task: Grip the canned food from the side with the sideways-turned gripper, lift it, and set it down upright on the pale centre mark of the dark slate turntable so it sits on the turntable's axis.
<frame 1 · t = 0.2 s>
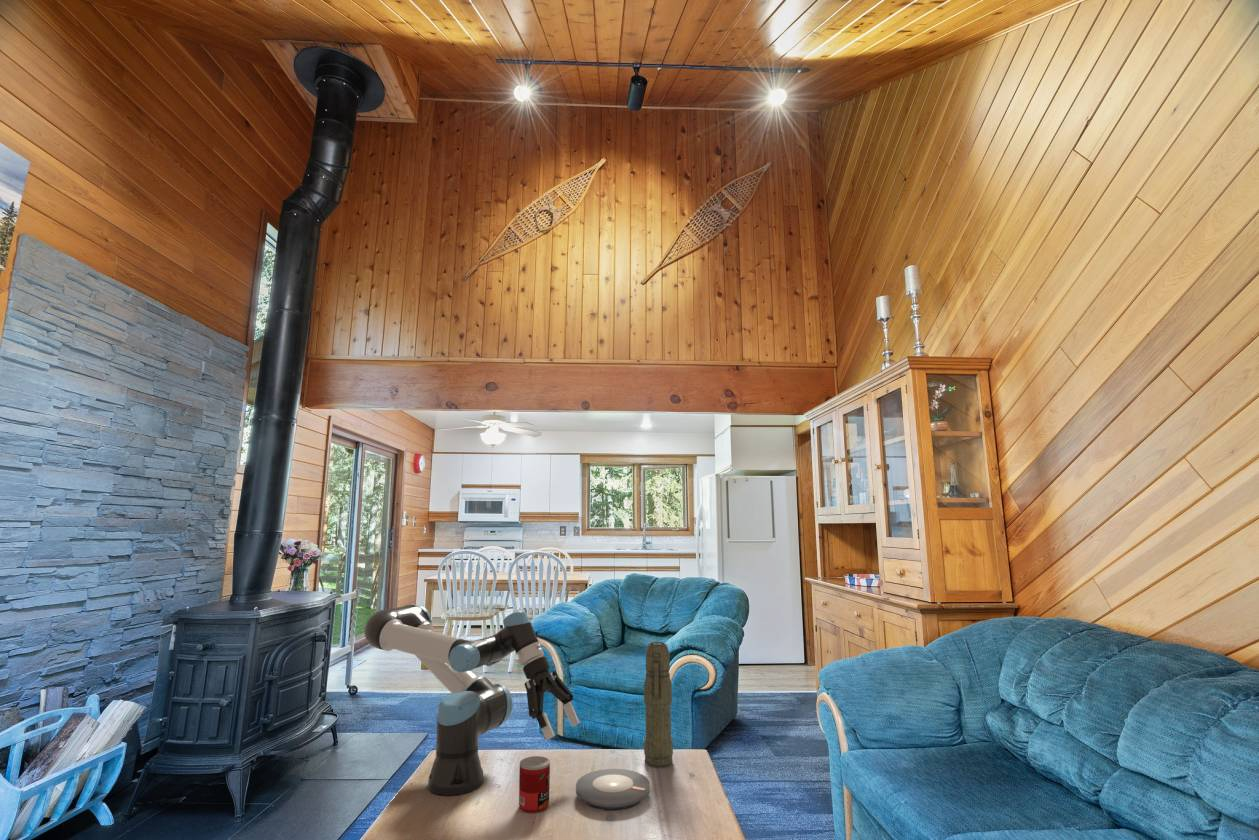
hand: (563, 731, 173), 14 cm above the table, tool tilted 30°, fingers open, 13 cm apart
turntable base: (612, 796, 163), on the table
turntable: (612, 786, 164), point 3 cm above the table, hinge at 0.0°
canned food: (533, 807, 158), on the table
olive brown statue: (658, 762, 186), on the table
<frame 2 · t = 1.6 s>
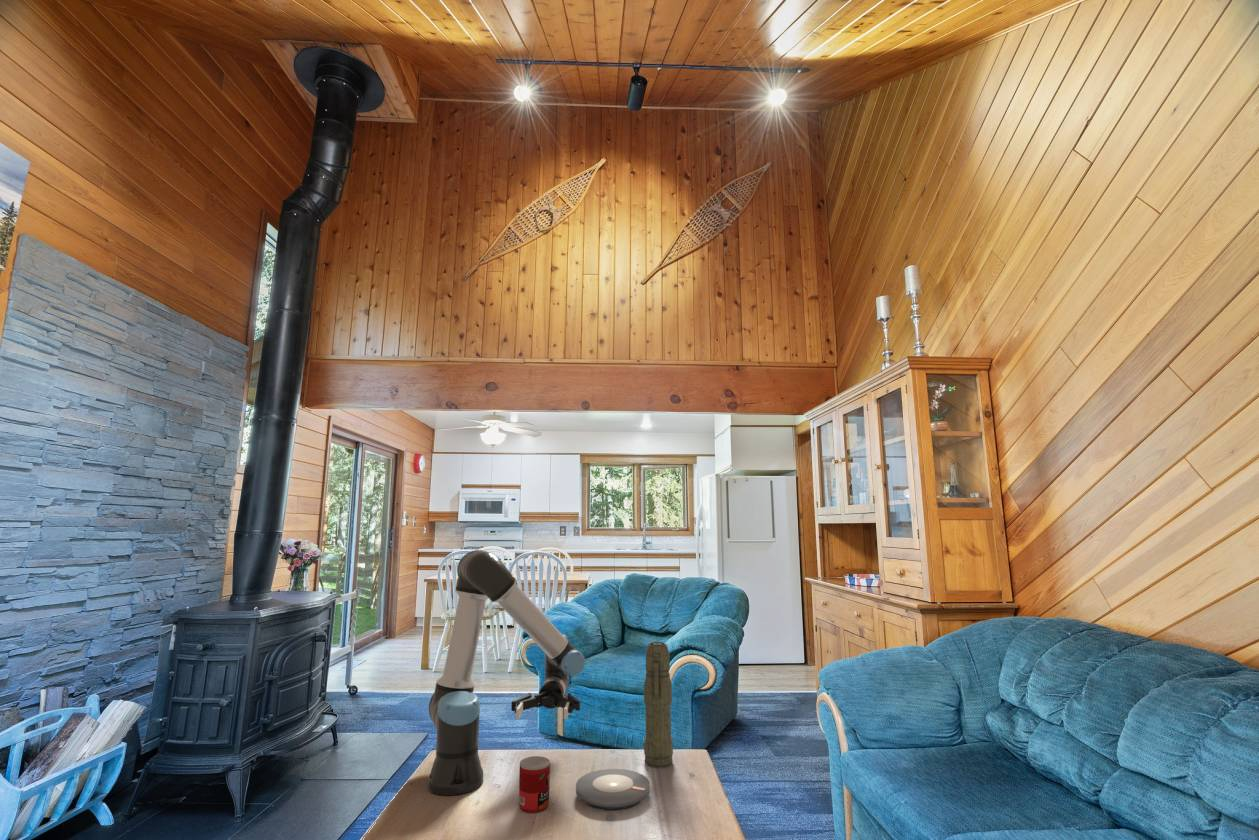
hand: (541, 714, 170), 20 cm above the table, tool horizontal, fingers open, 13 cm apart
nothing on the table moved.
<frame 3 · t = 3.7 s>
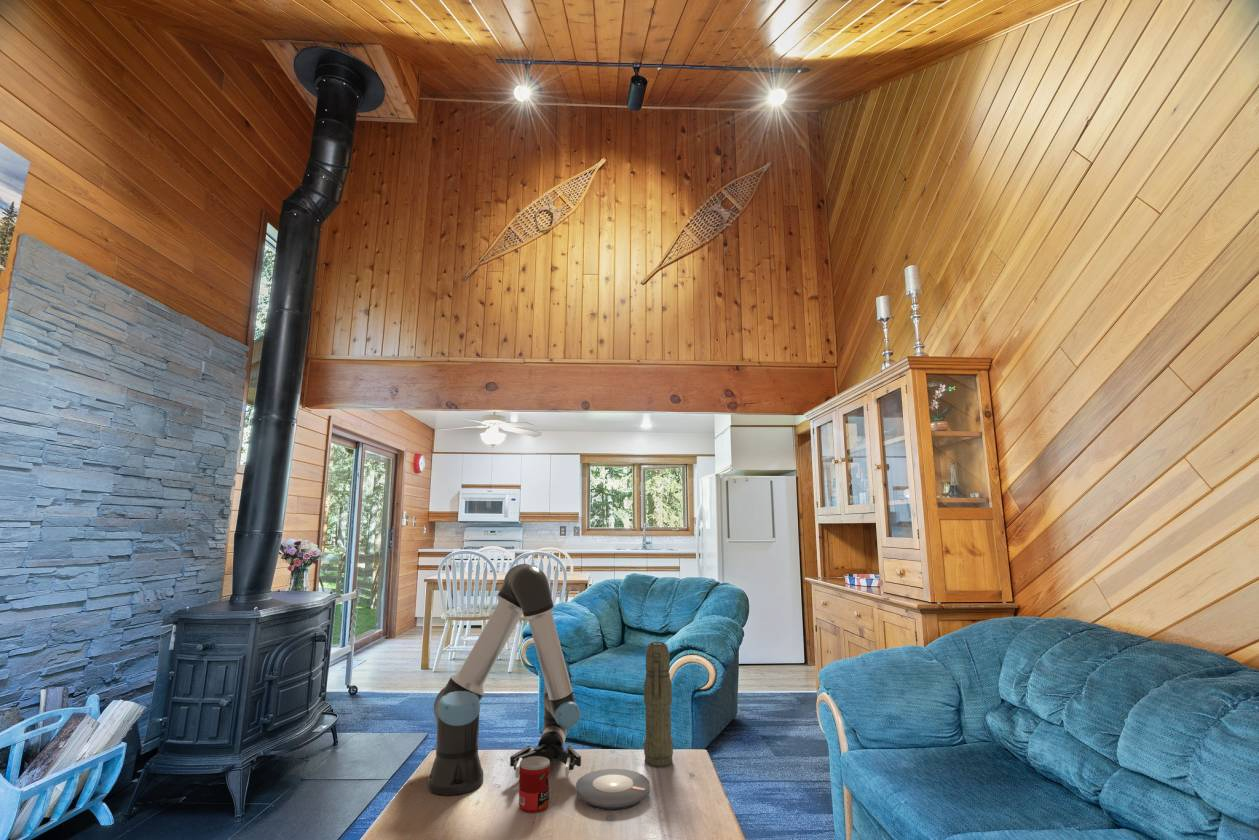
hand: (541, 772, 165), 6 cm above the table, tool horizontal, fingers open, 13 cm apart
nothing on the table moved.
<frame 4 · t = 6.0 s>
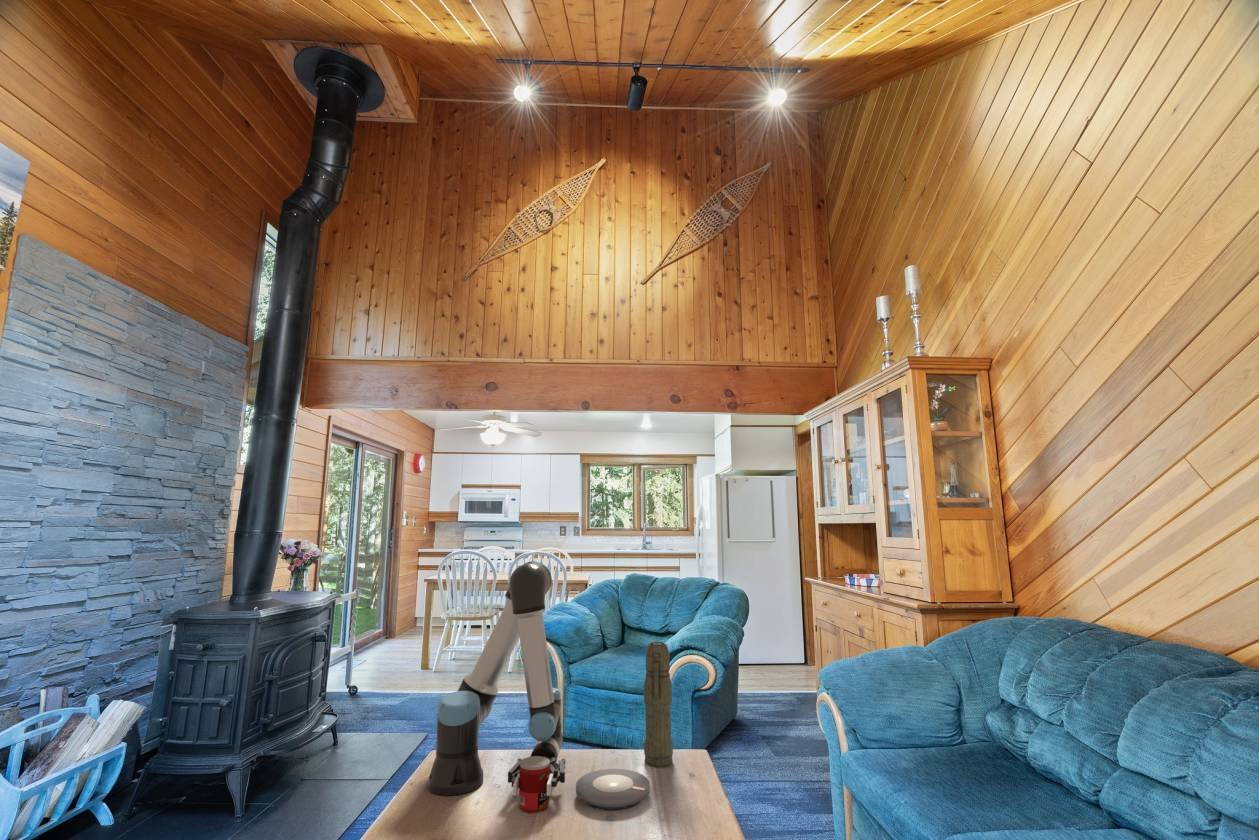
hand: (531, 789, 154), 6 cm above the table, tool horizontal, fingers closed on canned food, 8 cm apart
canned food: (533, 807, 158), on the table, touching gripper
everything else where it was.
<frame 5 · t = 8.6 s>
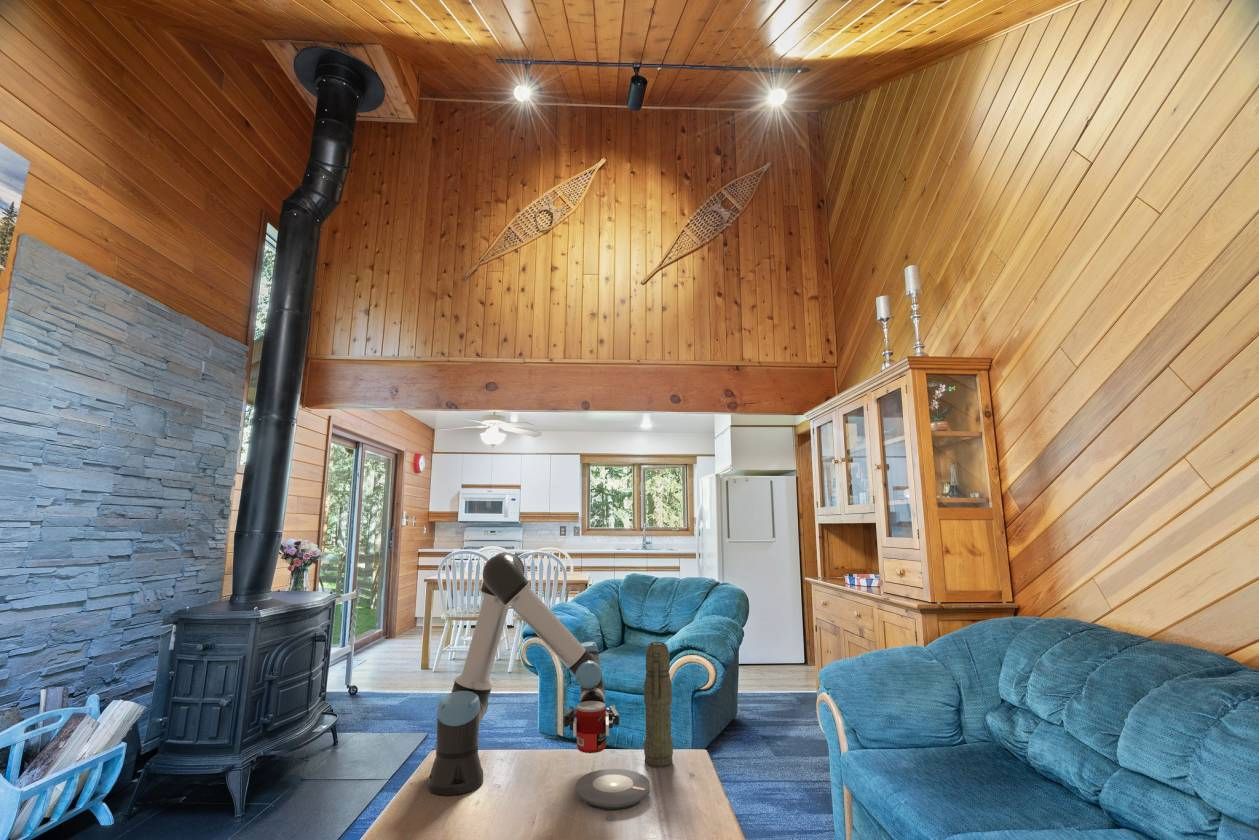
hand: (591, 730, 159), 19 cm above the table, tool horizontal, fingers closed on canned food, 8 cm apart
canned food: (591, 749, 163), point 13 cm above the table, touching gripper
everything else where it was.
when the fingers open (11 cm above the table, at t = 11.1 s): canned food drops 2 cm, resting on turntable.
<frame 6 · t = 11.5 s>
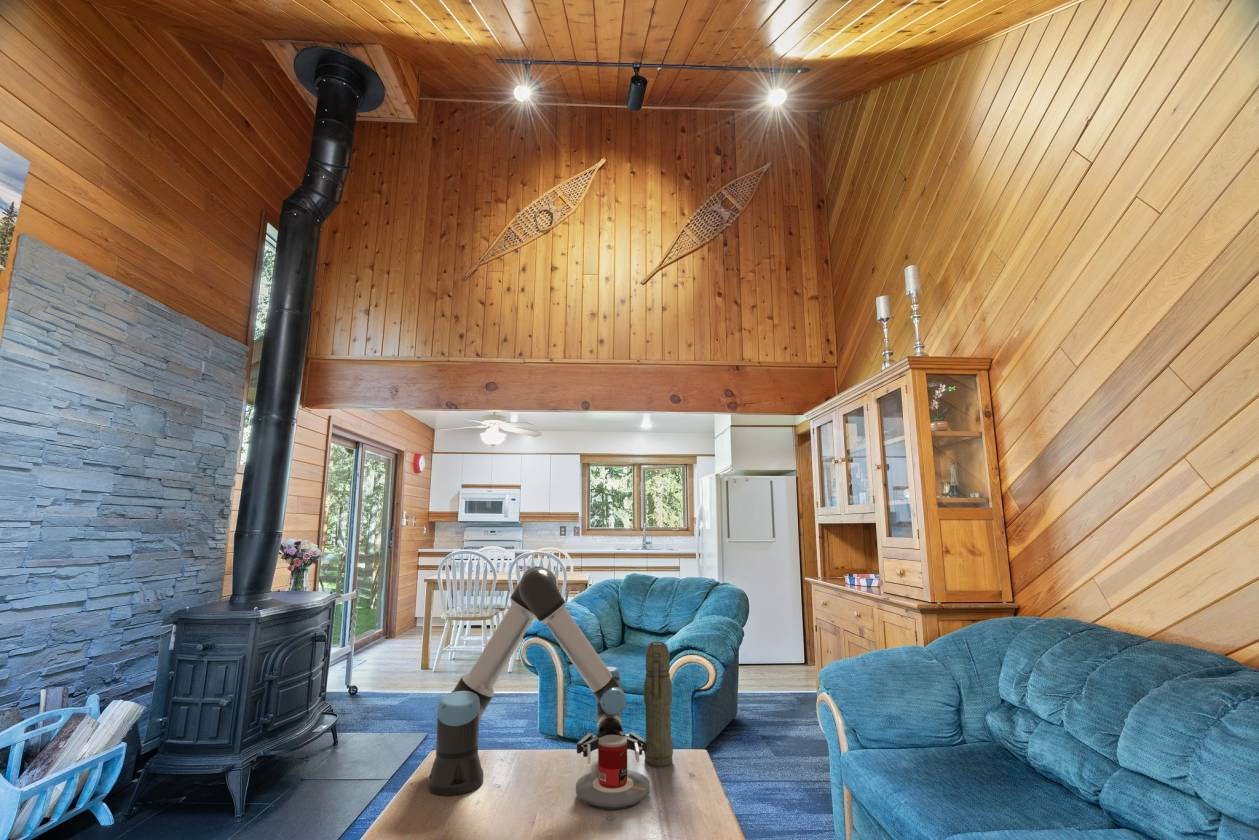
hand: (613, 757, 162), 11 cm above the table, tool horizontal, fingers open, 12 cm apart
turntable: (612, 786, 164), point 3 cm above the table, hinge at 0.0°, touching canned food
canned food: (612, 783, 164), point 3 cm above the table, touching turntable
everything else where it was.
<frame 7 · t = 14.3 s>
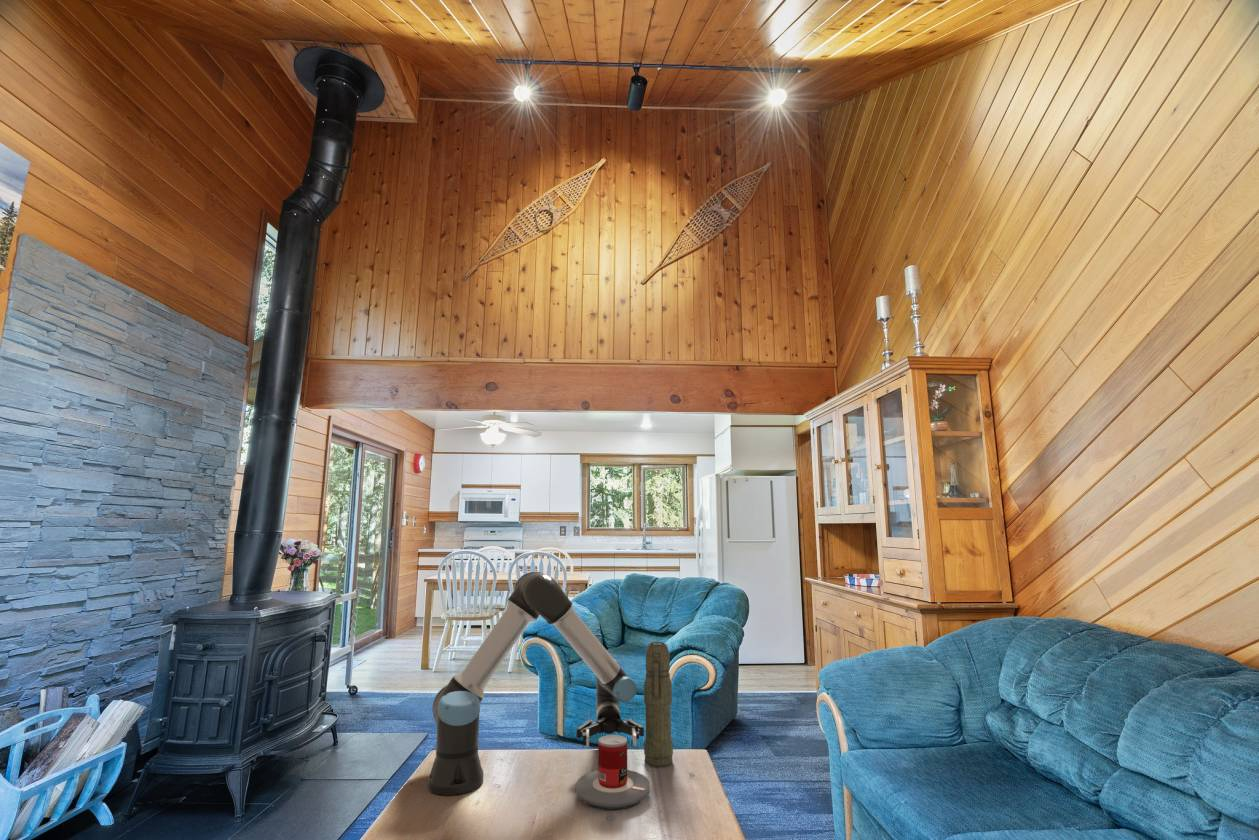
hand: (611, 741, 173), 11 cm above the table, tool horizontal, fingers open, 13 cm apart
nothing on the table moved.
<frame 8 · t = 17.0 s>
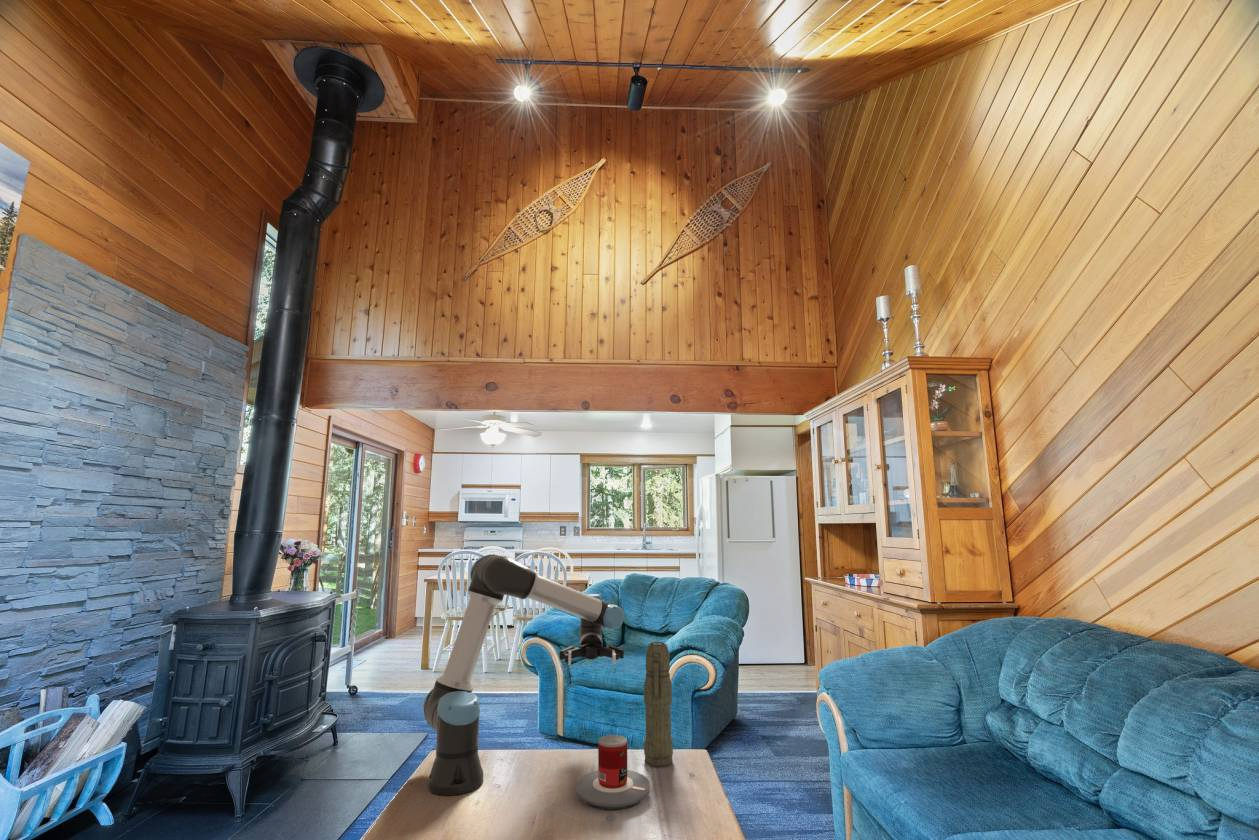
hand: (592, 660, 183), 32 cm above the table, tool horizontal, fingers open, 13 cm apart
nothing on the table moved.
at the end: canned food 0.0 cm off-centre on the turntable, point 3.2 cm above the turntable's base; canned food tilted 0°; the gripper is holding nothing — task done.
